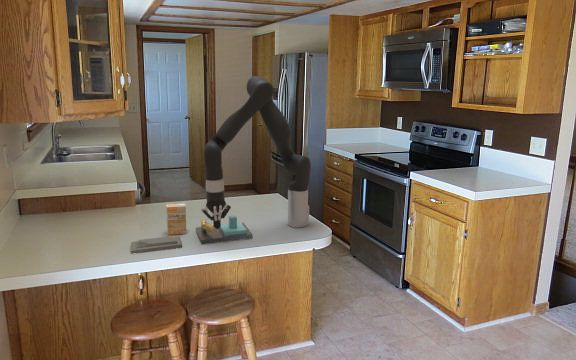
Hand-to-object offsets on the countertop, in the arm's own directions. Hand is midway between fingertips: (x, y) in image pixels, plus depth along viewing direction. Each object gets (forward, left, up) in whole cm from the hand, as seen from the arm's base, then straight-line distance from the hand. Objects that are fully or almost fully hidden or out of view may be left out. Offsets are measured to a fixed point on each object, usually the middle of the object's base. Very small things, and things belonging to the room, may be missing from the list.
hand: (217, 228), depth 200 cm
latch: (+3, -3, -3) cm, 5 cm away
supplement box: (+16, -13, -5) cm, 21 cm away
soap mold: (+25, +1, -6) cm, 26 cm away
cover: (-7, -3, -3) cm, 8 cm away
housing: (-3, -4, -5) cm, 7 cm away
